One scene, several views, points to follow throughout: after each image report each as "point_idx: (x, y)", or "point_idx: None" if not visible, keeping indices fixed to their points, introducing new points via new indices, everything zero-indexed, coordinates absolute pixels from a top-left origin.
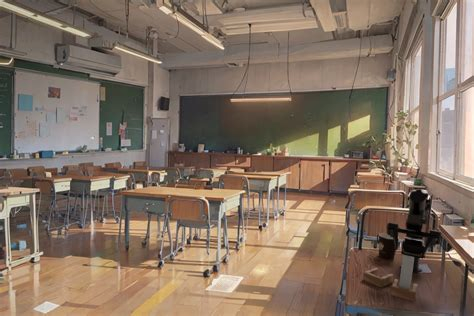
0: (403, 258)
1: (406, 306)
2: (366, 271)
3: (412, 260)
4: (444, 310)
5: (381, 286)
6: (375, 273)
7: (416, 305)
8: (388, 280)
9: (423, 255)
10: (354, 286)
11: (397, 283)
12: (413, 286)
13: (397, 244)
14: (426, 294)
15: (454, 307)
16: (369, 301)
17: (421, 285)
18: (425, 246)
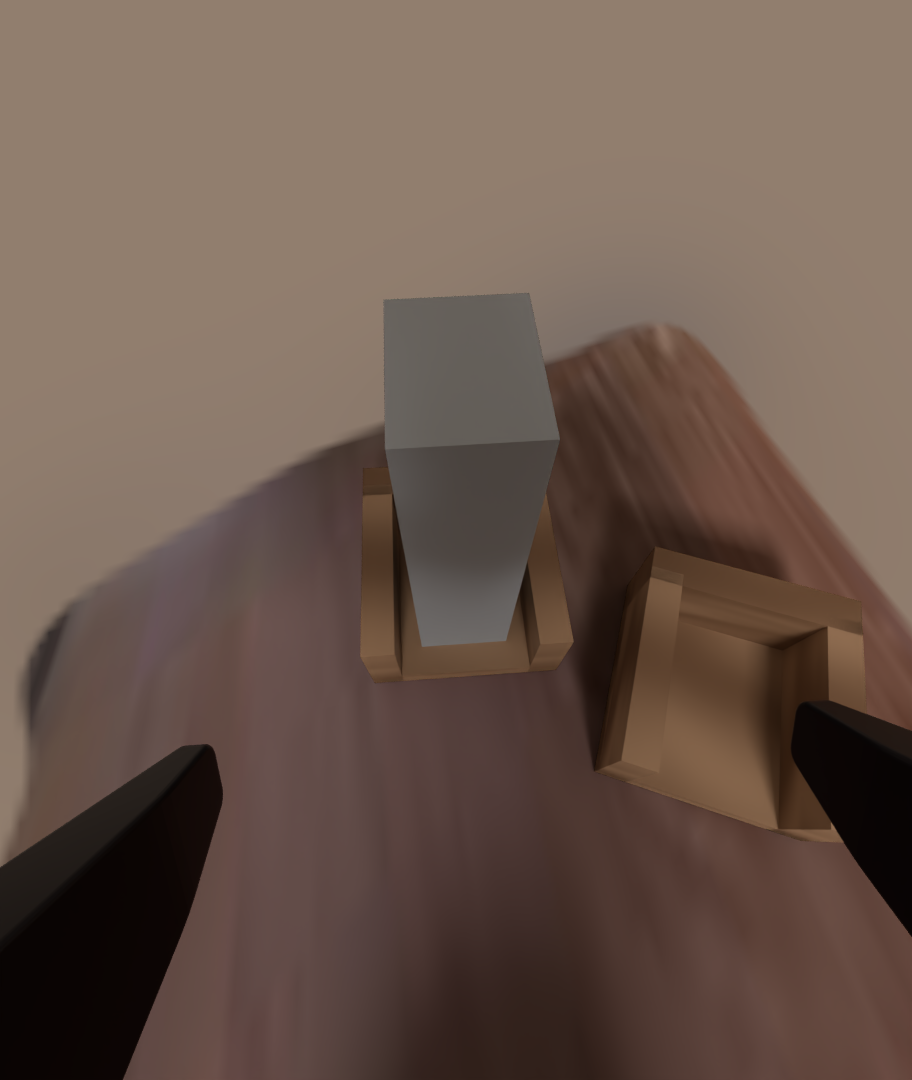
0: (518, 301)
1: None
2: (856, 636)
3: (396, 305)
4: (183, 542)
5: (634, 576)
6: (803, 778)
7: (360, 497)
8: (625, 672)
9: (209, 775)
10: (786, 508)
11: (531, 609)
12: (389, 579)
13: (909, 750)
14: (290, 757)
15: (93, 642)
16: (610, 380)
17: (335, 1010)
18: (11, 911)
